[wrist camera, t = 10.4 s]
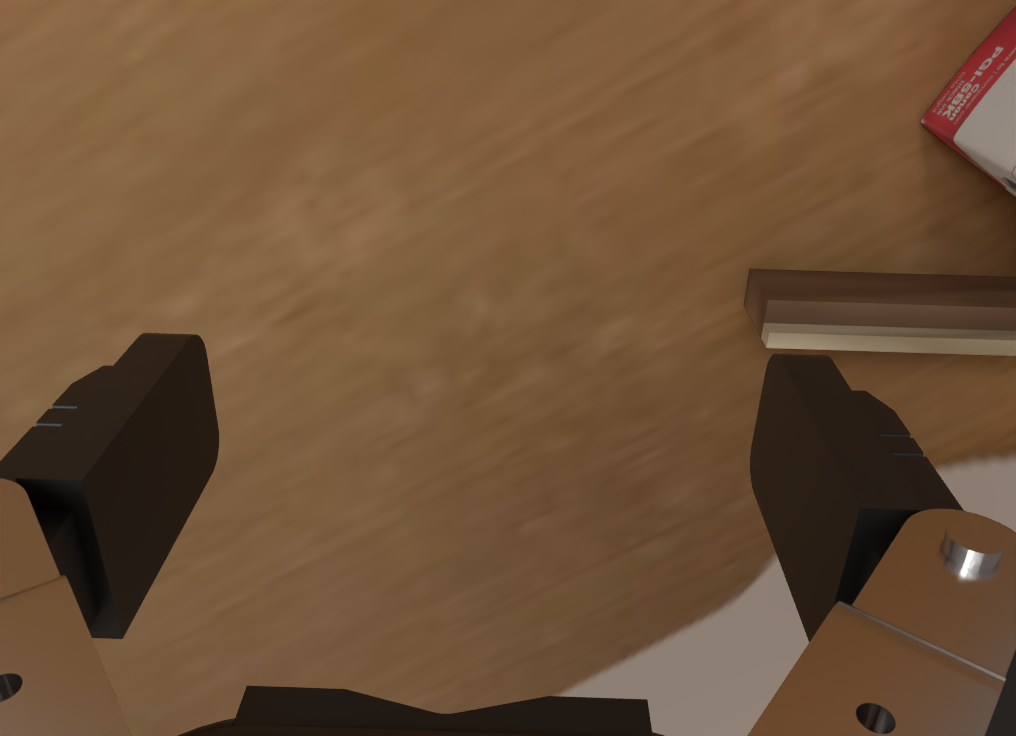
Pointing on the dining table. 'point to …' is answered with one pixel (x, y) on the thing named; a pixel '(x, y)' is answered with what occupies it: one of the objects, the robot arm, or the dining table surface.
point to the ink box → (983, 107)
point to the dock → (883, 312)
